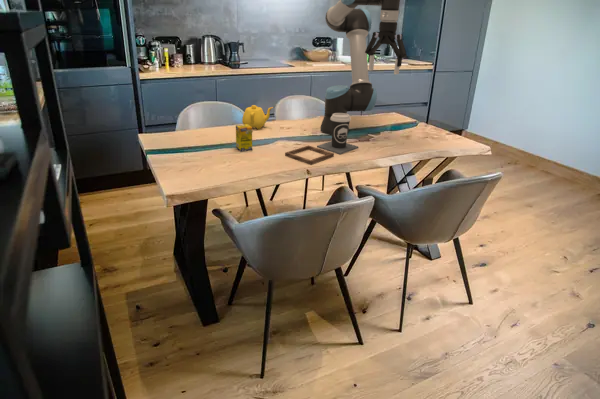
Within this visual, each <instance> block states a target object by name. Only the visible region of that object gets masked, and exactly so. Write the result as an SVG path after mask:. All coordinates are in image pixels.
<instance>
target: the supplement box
mask: <svg viewBox="0 0 600 399" xmlns="http://www.w3.org/2000/svg"><path fill="white" fill-rule="evenodd" d="M235 142H236V143H235V148H236V149H237V150H238V151H240V152H247V151H253V127H251V126H249V125H248V124H246V125H244V124H236V125H235Z"/></svg>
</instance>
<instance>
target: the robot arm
mask: <svg viewBox="0 0 600 399" xmlns="http://www.w3.org/2000/svg"><path fill="white" fill-rule="evenodd" d="M400 4H401V0H338V1H337V3H336V4H334V5H332V6H330V7H329V9H328V10H327V11H326V13H325V23H326V25H327V27H328V28H330V30H332V31H334V32H337V33H345V36H346V38H347V39H348V41H349V51H350V52H349V53H350V55H349V56H350V69H351V70H350V71H351V81H352V83H351V84H350V85H346V84H345V85H344V84H343V85H342V84H339V85H332V86H329V87H327V88H326V90H325V96H324V116H323V119H322V122H321V124H320V127H319V128H320V132H321V133H322V134H328V135H332V128H331V120H330V118H331V116H332V114H334V113H345V114H348V113H347V112H369V111H372V110H373V109H374V108H375V106H376V103H377V99H378V98H377V97H378V92H377V89H376V88H374V87H373V83H371V82H370V79H369V71H370V72H371V71H374V69H375V68H374V67H375V53H376V51H377V50H379V48H380V47H381V46H382V45H389V46H390V47H391V49H392V51H393V53H394V54H395V56H396V58H395V62H394V70H393V75H399V74H400V67H402V63H403V59H405V58H407V56H408V55H407V52H406V49H405V45H404V41H403V34H401V33H400V34H399V33H398V34H397V31H398V30H397V29H398V22H397V21H398V20H399V11H400ZM358 6H374V7H375V6H379V7H381V8H380V18H379V19H380V22H379V25H378V27H379V28H378V30H379V32H378V31H376V32H375V31H373V32H372V36H371V38H370V41H369V43H368V45H367V39H366V38H367V36H368V35H369V33H370V32H371V30H372V22H373V21H372V16H371V13H370V11H369V10H368V9H366V8H362V7H361V8H356V7H358ZM377 39H378V40H377ZM368 63H369V64H368ZM349 130H350V128H349V129H348V133H349V132H350V131H349Z"/></svg>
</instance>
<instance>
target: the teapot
mask: <svg viewBox="0 0 600 399" xmlns="http://www.w3.org/2000/svg"><path fill="white" fill-rule="evenodd" d="M267 108H268V109H267V111H266V112H267V113H266V114H265V112H264V111H263V108H262V107H260V106H257V105H255V104H252V105H251V106H249V107H248V106H247V107H246V108H245V110H244V112H243V115H242V119H241V122H242V125H246V124H248V125H249V126H251V127H252V128H256V130H262V127H264V126H265V124H266V123H267V121H268V120H269V118H270V115H271V114H270V113H271V110H272V109H273V108H274V107H273V106H272V107H267Z"/></svg>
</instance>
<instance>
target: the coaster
mask: <svg viewBox="0 0 600 399" xmlns="http://www.w3.org/2000/svg"><path fill="white" fill-rule="evenodd" d="M359 147H360V146H359V145H355V144H351V143H348V142H346V147H345V148H334V147H332V140H330V141H328V142H324V143H322V144H319V145H316V148H318V149H321V150H325V151H328V152H331V153H334V154H337V155H343V154H345V153H349V152H351V151H354V150H356V149H359Z"/></svg>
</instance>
